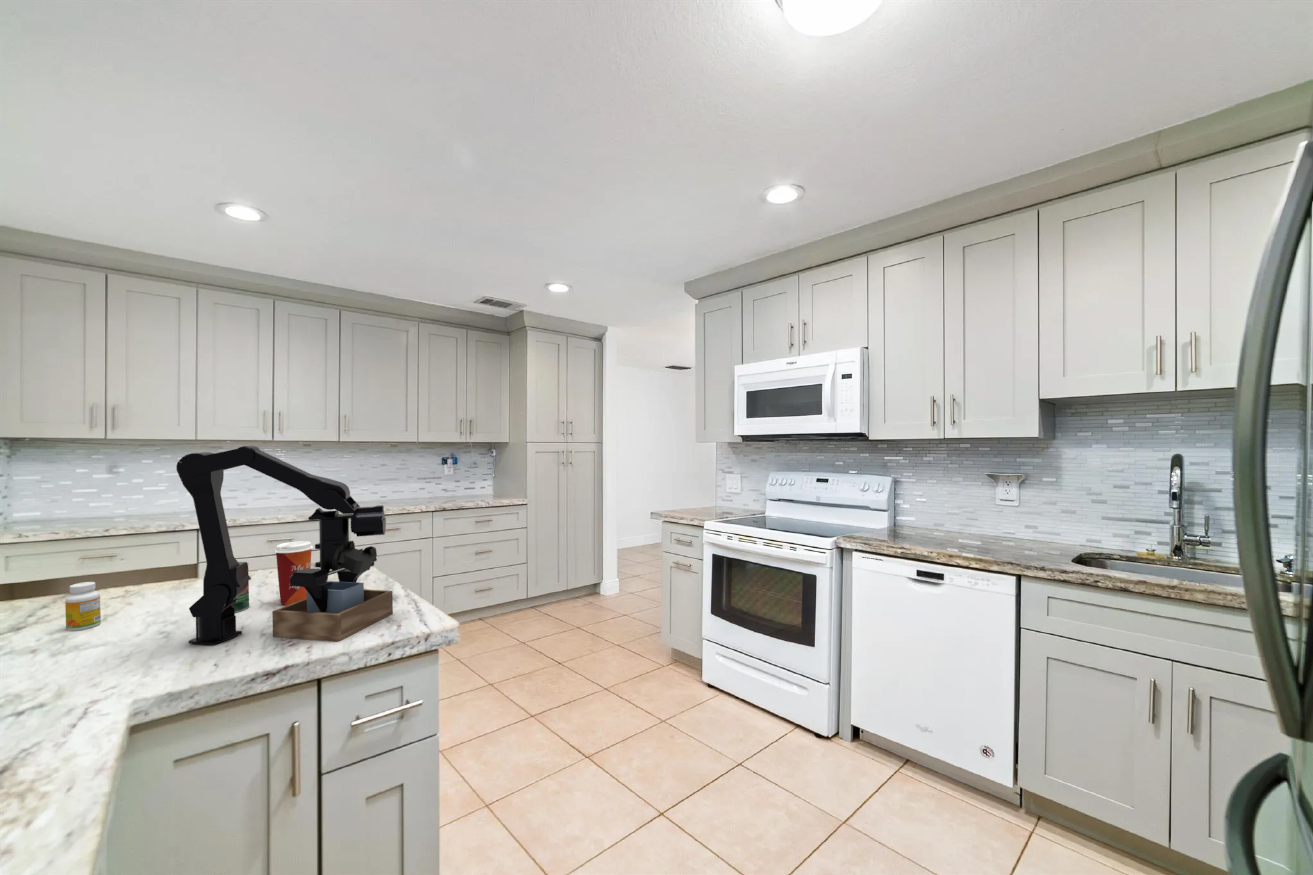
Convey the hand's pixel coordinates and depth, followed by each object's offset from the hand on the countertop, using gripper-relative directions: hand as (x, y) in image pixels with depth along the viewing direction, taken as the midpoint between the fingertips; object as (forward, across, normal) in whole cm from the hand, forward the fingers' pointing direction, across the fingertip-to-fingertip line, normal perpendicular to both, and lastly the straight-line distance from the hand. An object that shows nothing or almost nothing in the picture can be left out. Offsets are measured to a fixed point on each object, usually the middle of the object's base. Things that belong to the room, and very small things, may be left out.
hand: (335, 606), depth 121 cm
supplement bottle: (+4, -10, +56) cm, 57 cm away
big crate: (+4, 0, 0) cm, 4 cm away
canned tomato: (+4, +5, +34) cm, 34 cm away
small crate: (+1, 0, 0) cm, 1 cm away
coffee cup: (+4, +13, +23) cm, 26 cm away
